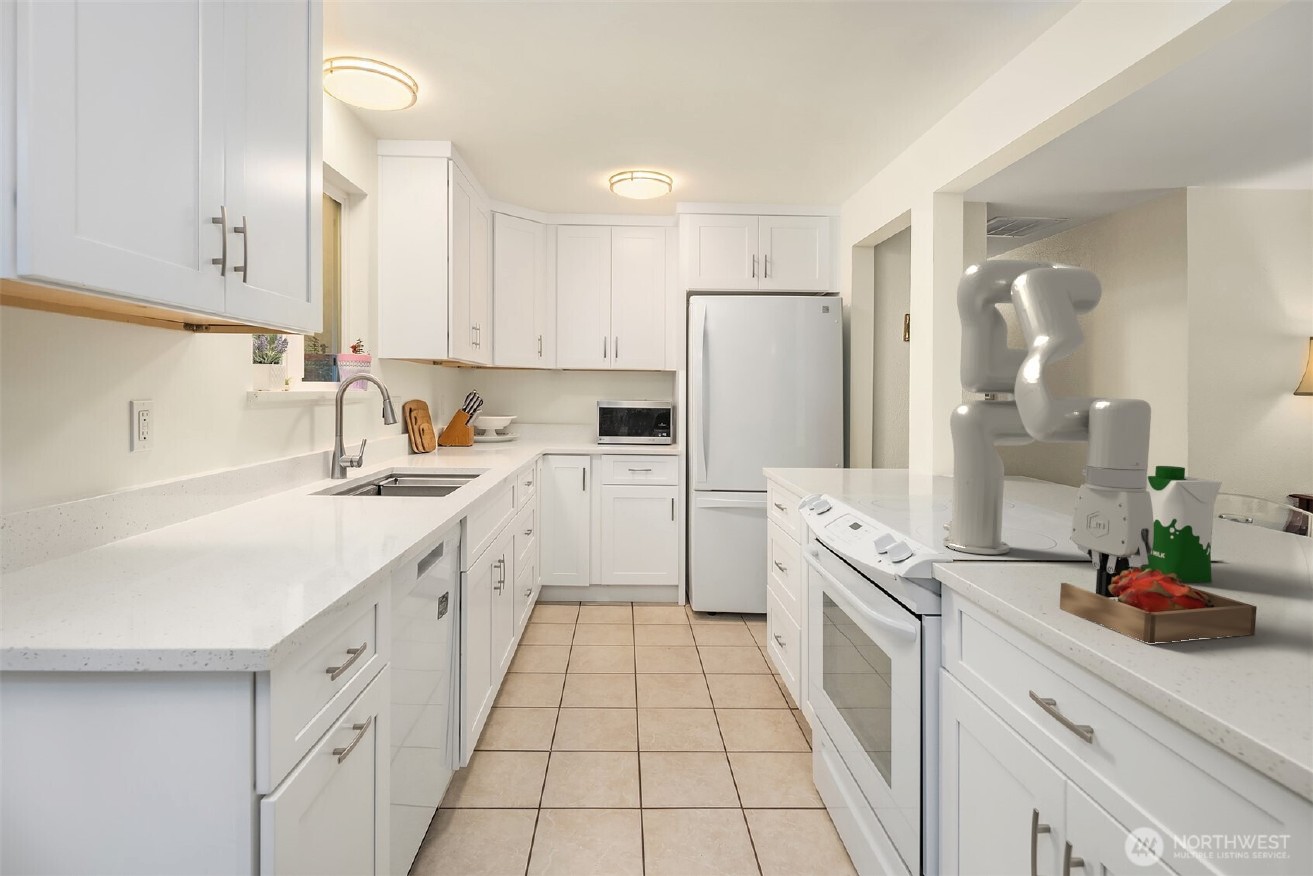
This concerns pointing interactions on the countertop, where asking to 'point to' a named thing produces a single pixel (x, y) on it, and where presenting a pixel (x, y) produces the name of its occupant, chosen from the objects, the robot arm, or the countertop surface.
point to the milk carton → (1181, 523)
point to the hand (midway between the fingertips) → (1108, 595)
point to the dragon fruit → (1156, 591)
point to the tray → (1162, 617)
